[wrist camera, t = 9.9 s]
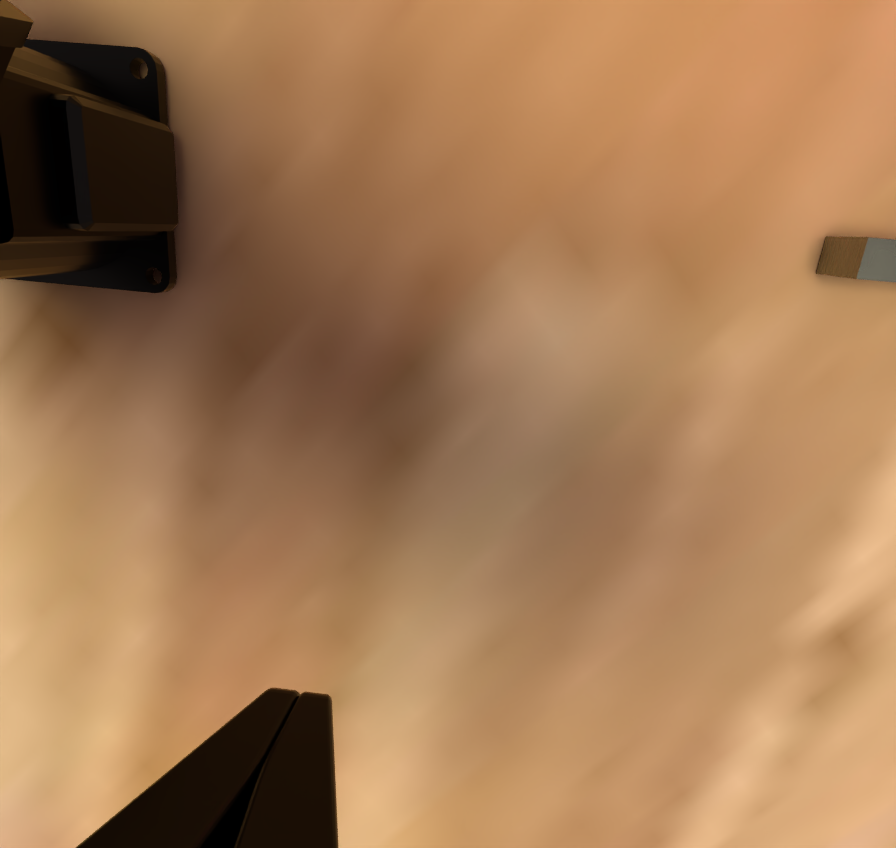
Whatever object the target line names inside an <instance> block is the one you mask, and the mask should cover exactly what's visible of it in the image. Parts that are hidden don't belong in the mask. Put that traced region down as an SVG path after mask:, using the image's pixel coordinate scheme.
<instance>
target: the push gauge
mask: <svg viewBox="0 0 896 848" xmlns="http://www.w3.org/2000/svg"><path fill="white" fill-rule="evenodd" d="M816 274H823V275H831V276H838V277H846V278H853V279H863V280H875V281H886V282H896V240H892V239H880V238H869V237H826V239H825V243H824V246H823V250H822V254H821V257H820V261H819V265H818V268H817V272H816Z"/></svg>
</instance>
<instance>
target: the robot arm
mask: <svg viewBox="0 0 896 848" xmlns="http://www.w3.org/2000/svg"><path fill="white" fill-rule="evenodd" d="M32 24H33V21H32V20H31V19H30V18H29V17H28V16H27V15H25V14H24V13H23V12H21V11H20V10H19V9H17V8H16V7H15V6H14V5H12V4H11V3H10V2H8V1H7V0H0V279H15V280H25V281H36V282H46V283H57V284H67V285H77V286H88V287H98V288H109V289H119V290H129V291H140V292H150V293H159V292H165V291H169V290H170V289H172V288H173V287H174V285H175V284H176V278H177V273H176V256H175V239H174V228H175V227H176V226H177V224H178V206H177V188H176V171H175V153H174V137H173V133H172V132H171V131H170V130H169V128H168V122H167V105H166V88H165V73H164V69H163V65H162V64H161V62H160V60H159V59H158V58H157V57H156V56H155V55H153V54H152V53H150V52H148V51H146V50H144V49H141V48H137V47H124V46H110V45H97V44H84V43H70V42H57V41H43V40H30V39H26V38H27V36H28V34H29V31H30V29H31V27H32ZM143 62H145V63H146V64H147V67H148V73H147V76H146V77H145V78H143V79H141V78H140V76H139V73H138V70H139V66H140V65H141V63H143ZM155 268H157V269H158V270H159V271H160V272H161V275H162V280H161V282H160V283H158V282H157V281H156V280H155V279H154V277H153V270H154V269H155ZM76 848H338V828H337V806H336V783H335V761H334V738H333V716H332V699H331V697H330V696H329V695H327V694H320V693H312V692H303V693H302V694H300V693H299V692H297V691H296V690H288V689H281V688H270V689H268V690H266V691H265V692H264V693H262V694H261V695H260V696H259V697H257V698H256V699H255V700H254V701H253V702H251V703H250V704H249V705H248V706H247V707H245V708H244V709H243V710H242V711H241V712H239V713H238V714H237V715H236V716H234V717H233V718H232V719H231V720H230V721H228V722H227V723H226V724H225V725H224V726H222V727H221V728H220V729H219V730H218V731H216V732H215V733H214V734H213V735H211V736H210V737H209V738H208V739H207V740H205V741H204V742H203V743H202V744H201V745H199V746H198V747H197V748H196V749H195V750H193V751H192V752H191V753H190V754H188V755H187V756H186V757H185V758H184V759H182V760H181V761H180V762H179V763H178V764H176V765H175V766H174V767H173V768H172V769H170V770H169V771H168V772H167V773H165V774H164V775H163V776H162V777H161V778H159V779H158V780H157V781H156V782H155V783H153V784H152V785H151V786H150V787H148V788H147V789H146V790H145V791H144V792H142V793H141V794H140V795H139V796H138V797H136V798H135V799H134V800H133V801H132V802H130V803H129V804H128V805H127V806H125V807H124V808H123V809H122V810H121V811H119V812H118V813H117V814H116V815H115V816H113V817H112V818H111V819H110V820H109V821H107V822H106V823H105V824H104V825H102V826H101V827H100V828H99V829H98V830H96V831H95V832H94V833H93V834H92V835H90V836H89V837H88V838H87V839H86V840H84V841H83V842H82V843H81V844H79V845H78V846H77V847H76Z"/></svg>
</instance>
